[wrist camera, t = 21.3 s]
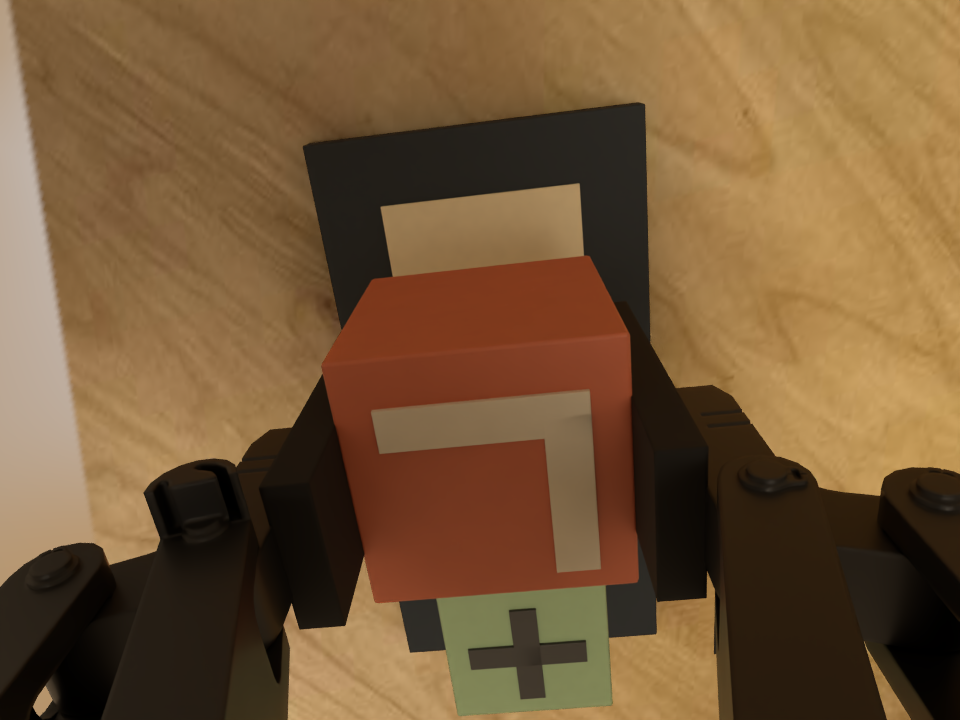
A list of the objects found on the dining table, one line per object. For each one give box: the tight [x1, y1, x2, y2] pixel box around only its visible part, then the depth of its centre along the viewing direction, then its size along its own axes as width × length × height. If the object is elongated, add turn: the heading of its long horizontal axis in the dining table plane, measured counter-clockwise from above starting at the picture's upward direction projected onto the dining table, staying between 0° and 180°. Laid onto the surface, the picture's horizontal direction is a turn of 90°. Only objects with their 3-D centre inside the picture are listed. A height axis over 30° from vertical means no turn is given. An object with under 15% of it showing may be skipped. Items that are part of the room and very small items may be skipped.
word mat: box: [303, 102, 657, 653], centre depth 24 cm, size 20×10×1 cm, turn 7°
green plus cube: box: [436, 585, 613, 716], centre depth 23 cm, size 5×5×5 cm
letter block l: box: [321, 256, 639, 603], centre depth 14 cm, size 5×5×5 cm
